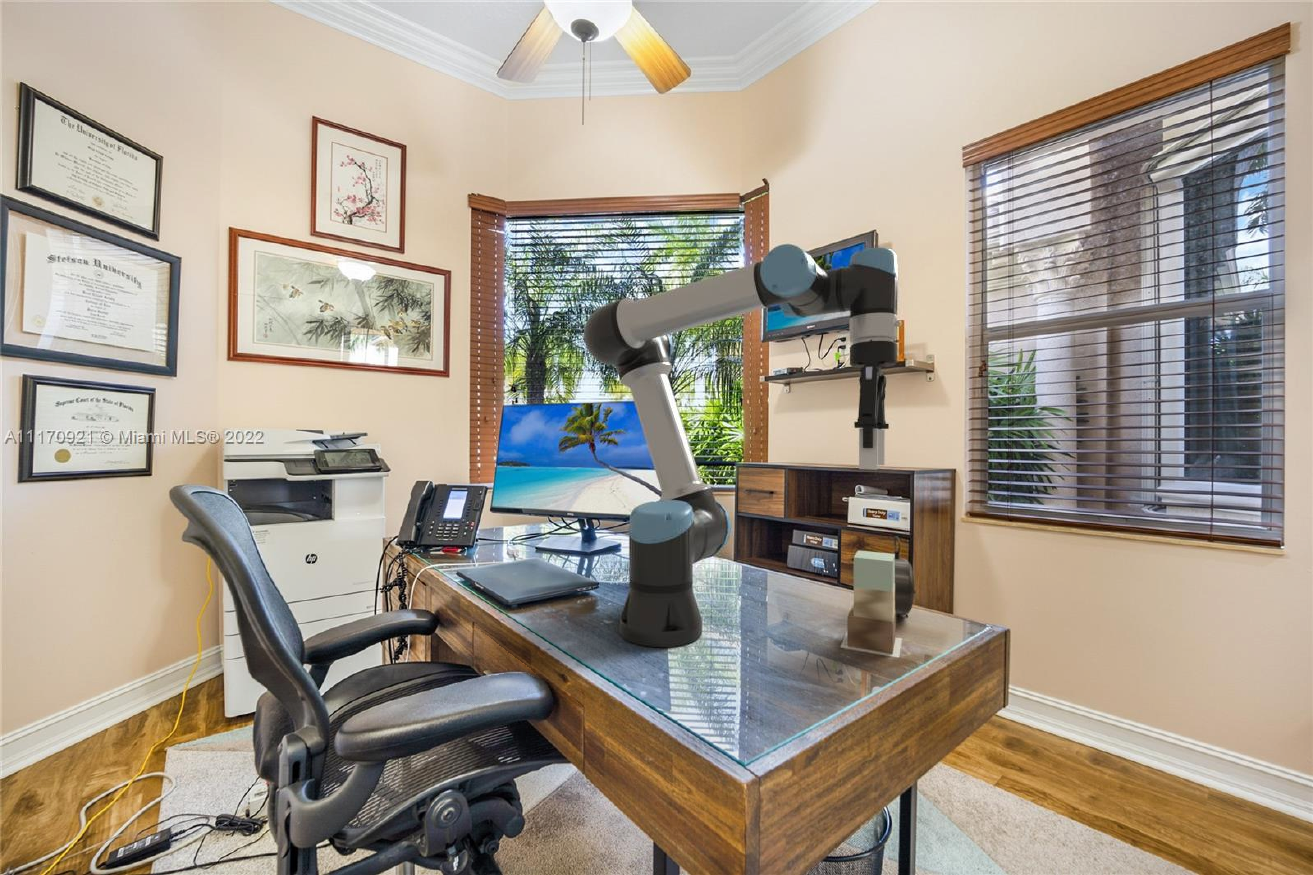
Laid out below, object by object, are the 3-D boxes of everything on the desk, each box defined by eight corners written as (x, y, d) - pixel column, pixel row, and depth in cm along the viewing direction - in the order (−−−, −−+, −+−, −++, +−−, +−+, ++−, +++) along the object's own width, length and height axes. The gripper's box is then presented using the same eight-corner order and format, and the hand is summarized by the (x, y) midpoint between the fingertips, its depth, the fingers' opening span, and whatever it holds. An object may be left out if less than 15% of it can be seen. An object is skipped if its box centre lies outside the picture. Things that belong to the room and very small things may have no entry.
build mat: (840, 650, 89) (840, 647, 89) (847, 632, 97) (847, 629, 97) (899, 661, 85) (899, 657, 85) (902, 641, 93) (902, 638, 93)
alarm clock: (877, 608, 110) (877, 531, 110) (905, 610, 109) (905, 532, 109) (887, 627, 100) (888, 541, 100) (918, 629, 99) (919, 542, 98)
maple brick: (853, 616, 89) (853, 587, 89) (858, 606, 95) (858, 578, 94) (892, 622, 86) (892, 592, 86) (894, 611, 92) (895, 582, 92)
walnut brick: (847, 646, 89) (847, 616, 89) (852, 632, 96) (853, 604, 95) (892, 654, 86) (892, 623, 86) (895, 639, 92) (895, 610, 92)
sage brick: (853, 587, 89) (853, 557, 89) (857, 578, 95) (858, 550, 94) (892, 591, 86) (892, 561, 86) (894, 582, 92) (894, 554, 92)
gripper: (892, 327, 78) (891, 472, 78) (901, 351, 100) (900, 464, 100) (838, 332, 81) (838, 470, 81) (858, 354, 103) (858, 462, 103)
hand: (872, 467), depth 91 cm, fingers open, 13 cm apart
